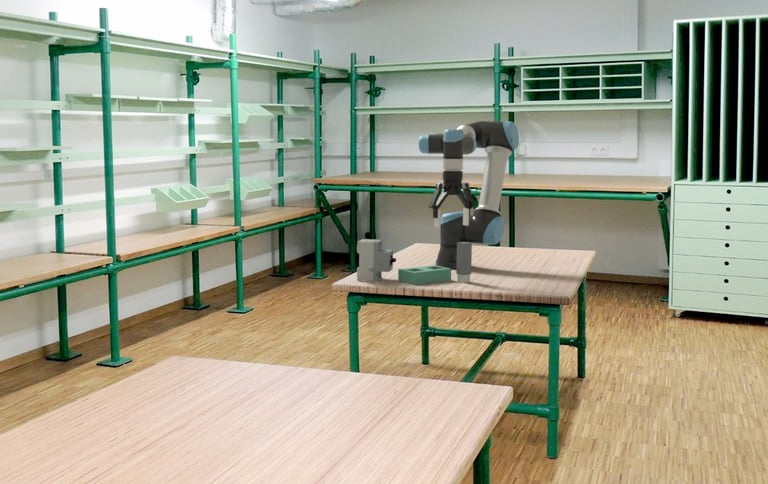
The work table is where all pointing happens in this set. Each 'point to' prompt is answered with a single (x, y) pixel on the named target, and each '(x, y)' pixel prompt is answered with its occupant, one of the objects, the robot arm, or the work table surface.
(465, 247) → the plug
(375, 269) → the circuit breaker
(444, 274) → the box
